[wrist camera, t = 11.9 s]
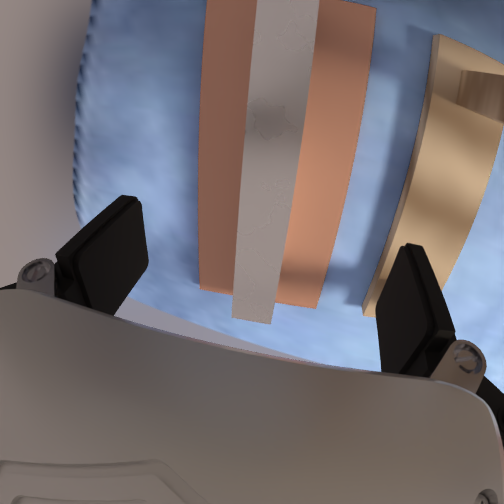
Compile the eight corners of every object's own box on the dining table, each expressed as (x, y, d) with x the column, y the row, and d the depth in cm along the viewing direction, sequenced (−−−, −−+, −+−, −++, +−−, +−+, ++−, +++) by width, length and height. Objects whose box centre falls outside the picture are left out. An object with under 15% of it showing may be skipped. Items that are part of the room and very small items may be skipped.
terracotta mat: (210, -8, 14) (208, -9, 13) (374, 9, 13) (376, 8, 12) (201, 284, 27) (199, 289, 26) (316, 303, 26) (315, 308, 25)
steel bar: (266, -2, 13) (258, -15, 11) (318, 3, 13) (320, -9, 10) (239, 292, 26) (231, 317, 23) (274, 298, 25) (270, 324, 23)
